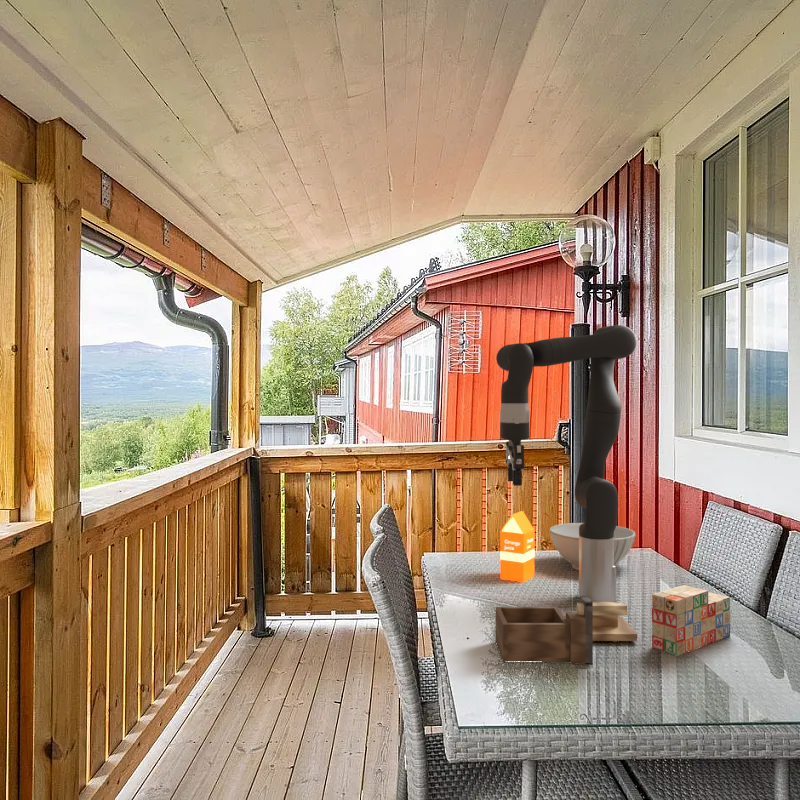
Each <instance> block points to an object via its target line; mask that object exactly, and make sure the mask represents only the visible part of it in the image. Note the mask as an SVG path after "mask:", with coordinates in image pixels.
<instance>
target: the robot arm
mask: <svg viewBox="0 0 800 800" xmlns="http://www.w3.org/2000/svg"><path fill="white" fill-rule="evenodd" d="M636 347H637V335H636V334H635V332H634V331H633V330H632V329H631V328H630V327H628V326H626V325H622V324H616V325H606V326H602V327H599V328H597V329H596V330H595V331H594V333H593V334H586V335H576V336H563V337H562V336H561V337H554V338H553V337H552V338H546V339H540V340H536V341H532V342H523V343H521V342H518V343H512V344H511V343H510V344H506V345H503V346H502V347H501V348H500V349H499V350H498V351H497V353H496V357H495V358H496V363H497V365H498V367H499V368H500V369H502V370H503V371H506V372H508V373H507V379H506V380H505V381H504V382H502V383H501V389H500V411H499V421H500V423H499V430H500V431H499V434H500V435H499V436H500V437H499V438H500V439H501V440H507V441H506V442H505V464H506V466H507V481H508V482H512V485H513V486H514V487H515V486H517V487H518V486H522V484H523V471H524V470H525V446H524V444H522V440H525V441H526V440H529V439H530V406H529V404H530V403H529V386H530V382H531V378H532V374H533V371H534V370H533V369H534V367H540V368H541V367H548V366H549V367H550V366H555V365H560V364H561V365H562V364H567V363H571V362H576V361H582V360H587V359H590V361H589V363H590V368H589V369H590V373H589V383H588V393H587V394H588V396H587V403H586V411H585V417H584V418H585V419H584V432H583V440H582V448H581V458H580V462H579V463H580V464H579V467H578V472H577V477H576V481H575V487H574V497H575V501H576V502H577V504H578V505H579V506H580V507H582V508H583V509H585V519H584V522H582V523H583V524H581V525H580V526H579V570H578V598H579V599H580V596H587V597H588V598H589V599H590V600H591V601H592V602H615V603H617V566H616V565H614V531H615V528H616V526H618V525H617V524H618V511H619V510H618V509H619V495H618V490H617V487H616V486H615V484H614V483H613V482H611V481H610V480H607V479H605V470H606V469H605V468H606V462H607V458H608V456H609V454H610V452H611V450H612V448H613V446H614V443H615V442H616V441H617V440H616V439H617V438H618V434H619V431H620V423H621V415H622V404H621V400H620V398H619V394H618V391H617V388H616V385H615V381H614V371H615V370H614V369H615V361H616V360H620V359H621V360H622V359H624V358H625V359H626V358H627V357H629V356H630V355H632V354H633V353H634V351H635V350H636Z"/></svg>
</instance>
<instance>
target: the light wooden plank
mask: <svg viewBox="0 0 800 800" xmlns="http://www.w3.org/2000/svg"><path fill="white" fill-rule="evenodd" d="M576 612H577V613H578V614H579V615H584V604H583V603H580V602H577V603H576ZM593 615H618V616H628V605H627V604H625V602H615V603H593Z"/></svg>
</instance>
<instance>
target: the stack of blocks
mask: <svg viewBox="0 0 800 800" xmlns="http://www.w3.org/2000/svg"><path fill="white" fill-rule="evenodd" d="M651 596H652V597H651V600H652V601H651V606H652V608H651V625H652V626H651V629H652V630H651V634H652V635H651V647H653V648H652V649H654V648H656V649H655V650H657V649H659V650H658V651H660V650H661V651H660V652H663V651H665V652H664V653H666V652H668V653H667V654H669V653H671V654H670V655H672V654H674V655H673V656H675V655H676V656H675V657H678V656H677V655H679V656H681V655H683V654H682V653H684V654H687V653H686V652H688V651H690V652H692V651H691V650H693V651H695V650H694V649H696V650H698V649H697V648H699V647H701V646H703V647H705V646H707V645H706V644H708V645H710V644H712V643H711V642H713V641H715V642H718V641H720V640H719V639H721V640H723V639H722V638H724V639H726V638H725V637H727V638H729V637H731V609H730V608H731V605H730V604H731V599H730V598H731V597H730V596H727V595H723V594H720V593H713V592H709V590H707V589H702V588H699V587H698V588H697V587H694V586H688V585H685V584H683V585H679V586H675V587H673V588H672V587H671V588H670V589H666V590H663V591H659V592H655V593H652V595H651ZM728 636H729V637H728ZM717 640H718V641H717ZM709 643H710V644H709ZM713 643H714V642H713ZM704 645H705V646H704ZM701 648H702V647H701ZM699 649H700V648H699ZM688 653H689V652H688ZM680 654H681V655H680Z"/></svg>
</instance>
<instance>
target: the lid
mask: <svg viewBox="0 0 800 800" xmlns="http://www.w3.org/2000/svg"><path fill="white" fill-rule="evenodd" d="M593 603H616V602H593ZM564 617H565V618H566V616H564ZM593 641H613V642H612V643H620V642H619V641H630V642H632V641H633V642H637V641H638V633H637V632H636V631H635V630H634V629H633V628H632V626H630V625H629V624H628V622H627V621H626V620H625V619H624V618H623V617H622V616H619V615H593ZM617 641H618V642H617Z"/></svg>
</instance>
